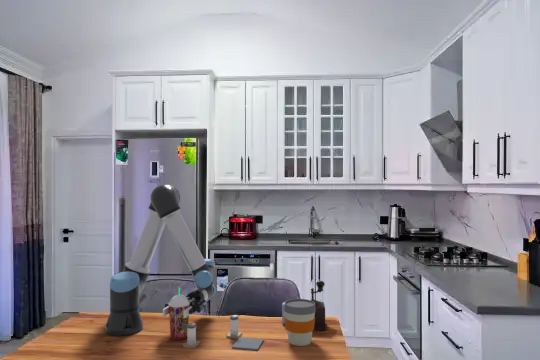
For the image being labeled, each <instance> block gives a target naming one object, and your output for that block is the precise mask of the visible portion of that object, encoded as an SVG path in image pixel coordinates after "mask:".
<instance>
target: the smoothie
mask: <svg viewBox="0 0 540 360" xmlns="http://www.w3.org/2000/svg"><path fill="white" fill-rule="evenodd" d="M177 288H178V290H177V291H178V294H175V295H174V296H173V297H171V299H170V301H169V302H170V303H169V314H168V316H169V334H170V337H171V339H172V340H174V341H181V340H184V339H186V338H187V324H189V318H190V317H189V316H190V315H189V316H187V317H186V318H183V311H184V310H186V309H187V308H189V304H190V302H189V301H188V299H187V297H186V296H187V295H186V296H185V295H184V294H181V287H177Z"/></svg>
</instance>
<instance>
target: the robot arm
mask: <svg viewBox="0 0 540 360" xmlns="http://www.w3.org/2000/svg"><path fill="white" fill-rule="evenodd" d="M149 198H150V203H149V205H148V211H149V215H148V217H147V219H146V222H145V225H144V226H143V230H142V232H141V233H140V236H139V240H138V242H137V245H136V246H135V249H134V252H133V254H132V256H131V259H130V261H129V262H126V263H125V265H124V267H123V270H122V271H121V272H117V273H115V274H113V275H112V276H111V277H110V282H109V289H110V290H109V315H108V318H107V321H106V323H105V326H104V327H105V333H106V335H110V336H128V335H132V334H133V335H134V334H136V333H139V332H141V331H142V330H143V329H144V322H143V318H142V316H141V313H140V294H141V293H142V292H143V291H144V289H145V288H146V286H147V284H148V279H149V276H150V273H151V269H150V268H149V267H150V264H151V262H152V259H153V257H154V254H155V252H156V250H157V247H158V244H159V242H160V241H161V240H160V239H161V238H162V234H163V232H164V230H165V227H167V229H168V231H169V233H170V234H171V236H172V238H173V240H174V243H175V244H176V246H177V248H178V250H179V251H180V254H181V255H182V257H183V259H184V261H185V263H186V265H187V267H188V269H189V271H190V273H191V275H192V276H193V280H194V283H195V286H196V288H195V289H194V290H191V291H190V292H189V293H188V294H186V297H187V299H188V301H189V302H190V304H189V308H187V309H186V310H184V311H183V318H186V317H187V316H190V315H192V314H195V313H198V314H199V313H201V311H203V308H205V307H207V302H208V301H210V300H211V299H212V298H213V297H214V296H215V294H216V292H217V290H216V287H215V285H214V280H213V279H214V261H213V259H211V258H204V256H203V255H202V253H201V250H200V248H199V247H198V245H197V243H196V241H195V239H194V237H193V235H192V233H191V231H190V229H189V227H188V225H187V224H186V221H185V220H184V217H183V216H182V214H181V210H182V209H181V207H180V205H179V204H180V202H181V195H180V191H179V190H178V189H177V188H176V187H175V186H173V185H171V184H160V185H157V186H156V187H155V188H153V190H152V191H151V193H150V197H149ZM169 303H170V301H169V302H166V303H165V304H164V308H162V317H166V316H168V315H169Z"/></svg>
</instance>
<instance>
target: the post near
mask: <svg viewBox="0 0 540 360" xmlns="http://www.w3.org/2000/svg"><path fill="white" fill-rule="evenodd" d="M186 338H187V339H186V341H185V343H183V344H182V348H187V349H188V348H189V349H196V348H197V347H198V346H199V345H200V344H201V341H200V340H197V323H196V322H188V324H187V335H186Z"/></svg>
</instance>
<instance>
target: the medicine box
mask: <svg viewBox="0 0 540 360" xmlns="http://www.w3.org/2000/svg"><path fill="white" fill-rule="evenodd" d="M285 302H286V301H283V302H282V304H281V317H282V318H281V320H282V321H281V324H282V325H285V311H284V304H285Z"/></svg>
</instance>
